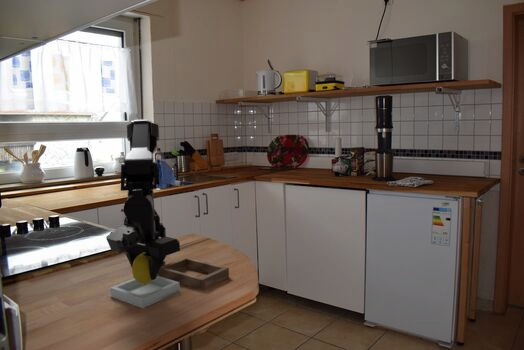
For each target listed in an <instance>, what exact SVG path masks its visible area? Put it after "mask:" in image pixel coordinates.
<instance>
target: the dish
mask: <svg viewBox="0 0 524 350" xmlns="http://www.w3.org/2000/svg"><path fill="white" fill-rule="evenodd" d="M180 286H181V285H180V282H177V281H174V280H170V279H167V278H163V277H160V276H158V275H157V277H156V279H154V280H152V281H151V282H149V283H148V284H147V285H143V284H142V283H139V282H137V281H136V280H135V279H134V278H132V279H129V280H126V281H124V282H121V283H118V284H116V285H113V286H110V289H109V290H110V297H111V298H114V299H116V300H119V301H121V302H124V303H128V304H130V305H132V306H136V307H138V308H141V309H145V308H147V307H149V306H151V305H153V304H155V303H157V302H160V301H162V300H164V299H166V298H168V297H171V296H172V295H174V294H177V293H180V292H181V287H180Z"/></svg>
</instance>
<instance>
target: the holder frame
mask: <svg viewBox="0 0 524 350" xmlns="http://www.w3.org/2000/svg"><path fill="white" fill-rule="evenodd" d="M184 269H190V270H194V271H197V272H202V273H203V274H204V273H205V274H206V275H204V276H203V277H199V276H196V275H193V274H189V273H186V272H181V271H183V270H184ZM229 269H230V268H229V267H227V266H223V265H219V264H216V263H212V262H206V261H202V260H198V259H195V258H191V257H186V256H185V257H182V258H179V259H177V260H175V261H172V262H169V263H167V264H165V265H164V264H163V265H161V268H160V270H159V272H158V275H157V276H160V277H163V278H167V279H170V280H174V281H177V282H180V284H181V285H183V286H188V287H191V288H194V289H198V290H201V291H204V290H205V289H208V288H210V287H212V286H214V285H216V284H218V283H220V282H222V281H224V280H226V279H228V278H229V277H230V271H229Z"/></svg>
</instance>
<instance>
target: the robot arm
mask: <svg viewBox="0 0 524 350" xmlns="http://www.w3.org/2000/svg"><path fill="white" fill-rule="evenodd" d="M159 126H160V125H159V124H157V123H154V122H152V120H150V119H133V120H131V122H130V123H128V124H127V125H126V139H127V141H128V142H129V143H130V147H131V148H130V151H128V152H127V153H125V155H124V160H123V162H121V164H120V165H121V166H120V191H121V192H122V191H123V192H124V191H128V192H127V198H126V200H125V201H124V205H123V215H125V217H124V219H123V225H122V226H120V227H118V228H116V229H115V230H112V231H110V233H109V234H108V235H107V236H106V237H105V239H106V240H107V241H106V242H107V244H108V245H109V248H110V250H111V251H115V252H118V253H124V254H125V256H126V257H127V259H128V263H129V265H130V267H131V268H132V265H133V262H134V259H135V258H136V257H137V256H138V255H140V254H142V253H143V252H145V253H146V254H143V255H144V256H145V257H146V258H147V259H148V262H149V270H150V277H151V280H154V279H156V277H157V276H158V272H159V270H160V268H161V266H163V265H164V264H165V265H166V261H165V259H166V257H167V256H169V255H172V254H174V253H177V252H180V251H181V245H180V244H181V243H180V242H181V241H179V240H178V239H177V238H174V237H169V236H167V233H166V227H165V226H164V223H163V222H161V217H160V215H159V213H158V211H156V209H155V196H154V195H155V194H154V190H157V189H158V185H160V184H161V183H160V178H161V177H160V166H158V162H157V161H154V154H155V152H156V150H157V148H158V142H160V127H159Z"/></svg>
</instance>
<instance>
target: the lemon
mask: <svg viewBox="0 0 524 350" xmlns="http://www.w3.org/2000/svg"><path fill="white" fill-rule="evenodd" d="M143 254H146V253H145V252H143V253H142V254H140V255H138V256H137V257H136V258H135V259H134V262H133V265H132V267H131V272H132V276H133V279H135V280H136V281H137V282H139V283H142V284H143V285H147V284H148V283H149V282H151V281H152V280H151V277H150V270H149V262H148V259H147V258H146V257H145V256H144V255H143Z"/></svg>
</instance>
